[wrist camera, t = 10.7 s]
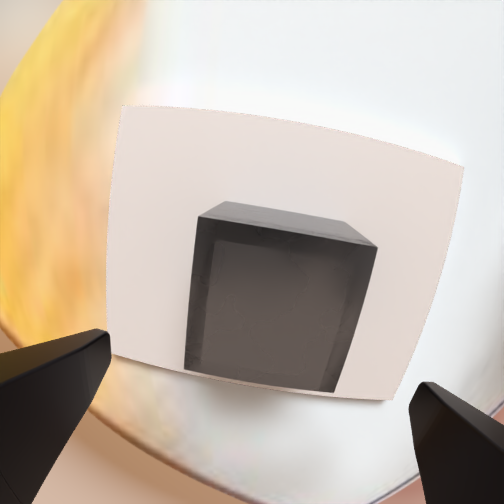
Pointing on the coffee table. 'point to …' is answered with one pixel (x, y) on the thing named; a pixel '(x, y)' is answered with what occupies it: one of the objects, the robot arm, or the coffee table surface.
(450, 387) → the coffee table surface
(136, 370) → the coffee table surface
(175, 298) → the post plate
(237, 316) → the dark grey framed cube
